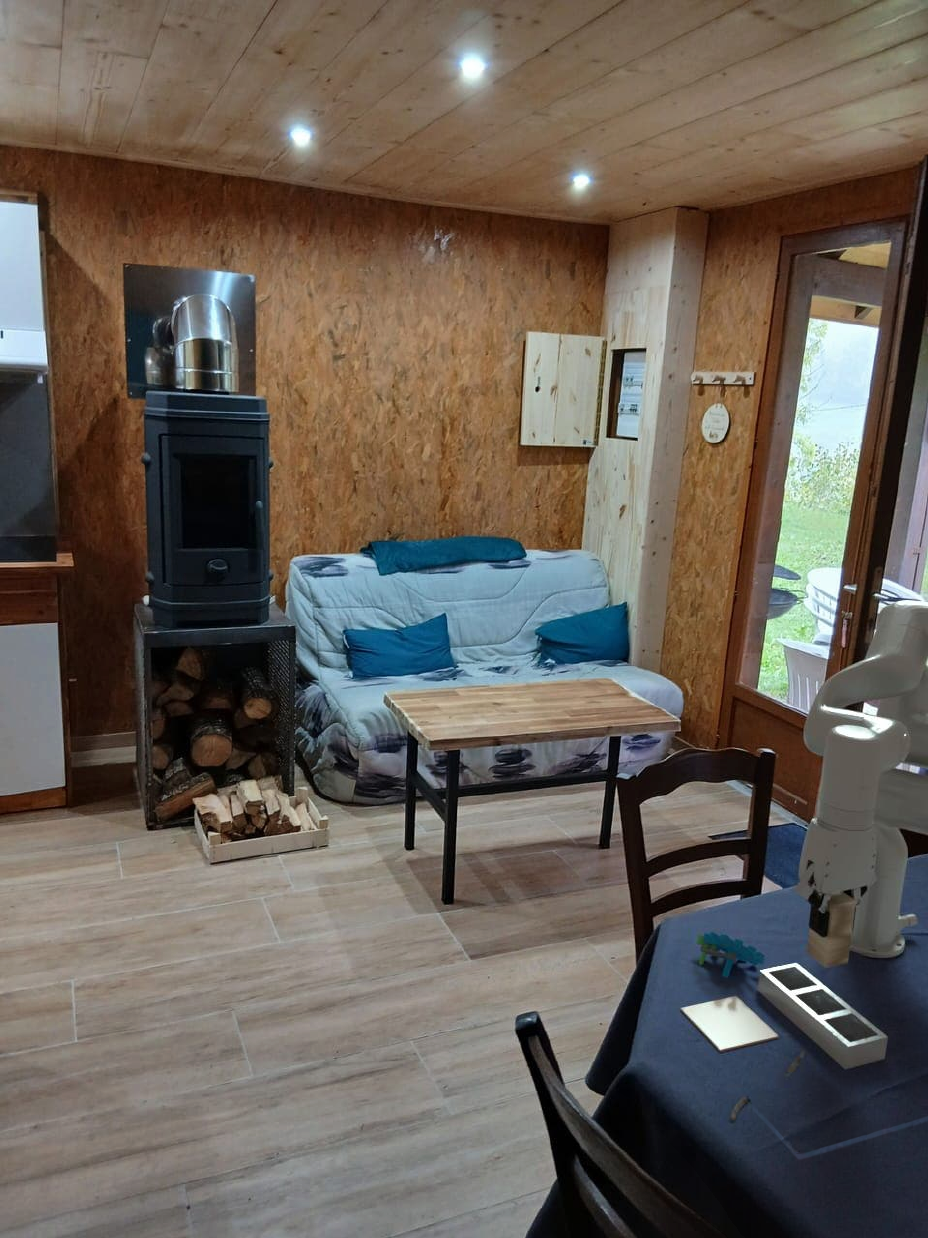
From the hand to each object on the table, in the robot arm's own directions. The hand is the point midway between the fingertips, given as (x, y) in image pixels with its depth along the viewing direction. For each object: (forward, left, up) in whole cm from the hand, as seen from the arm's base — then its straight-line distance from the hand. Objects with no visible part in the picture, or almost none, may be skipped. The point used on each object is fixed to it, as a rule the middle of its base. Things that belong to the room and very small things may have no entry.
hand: (830, 928), depth 137 cm
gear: (+4, -17, -16) cm, 24 cm away
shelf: (0, 0, -16) cm, 16 cm away
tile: (+13, -4, -16) cm, 21 cm away
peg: (0, 0, -5) cm, 5 cm away
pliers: (+15, +10, -16) cm, 25 cm away
